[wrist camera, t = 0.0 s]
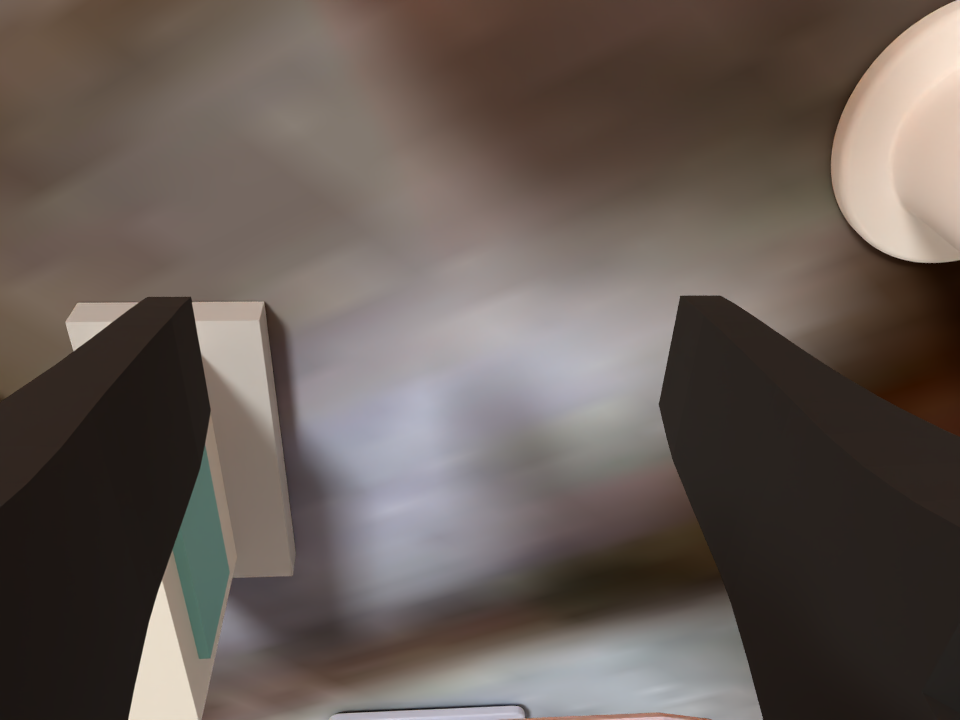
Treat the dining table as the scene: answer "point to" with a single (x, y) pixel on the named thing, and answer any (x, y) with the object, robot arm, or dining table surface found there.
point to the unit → (213, 505)
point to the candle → (905, 145)
